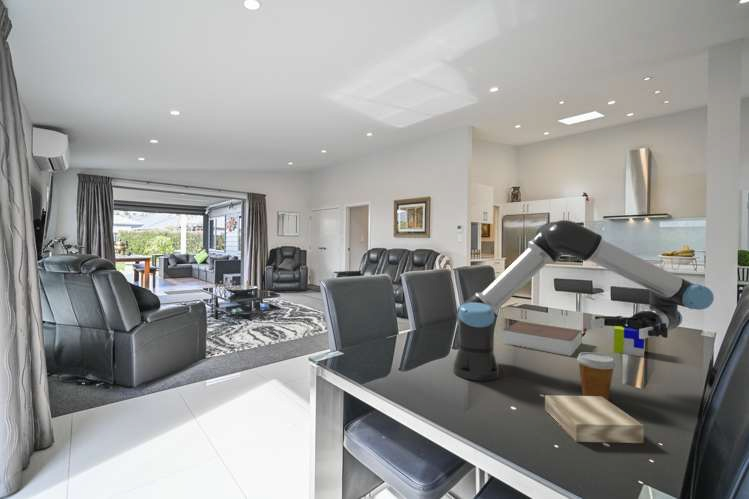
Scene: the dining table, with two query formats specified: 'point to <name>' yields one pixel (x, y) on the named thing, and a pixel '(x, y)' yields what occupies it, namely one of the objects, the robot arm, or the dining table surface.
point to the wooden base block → (593, 419)
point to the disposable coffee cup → (595, 373)
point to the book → (543, 337)
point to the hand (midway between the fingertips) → (614, 329)
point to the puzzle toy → (628, 341)
